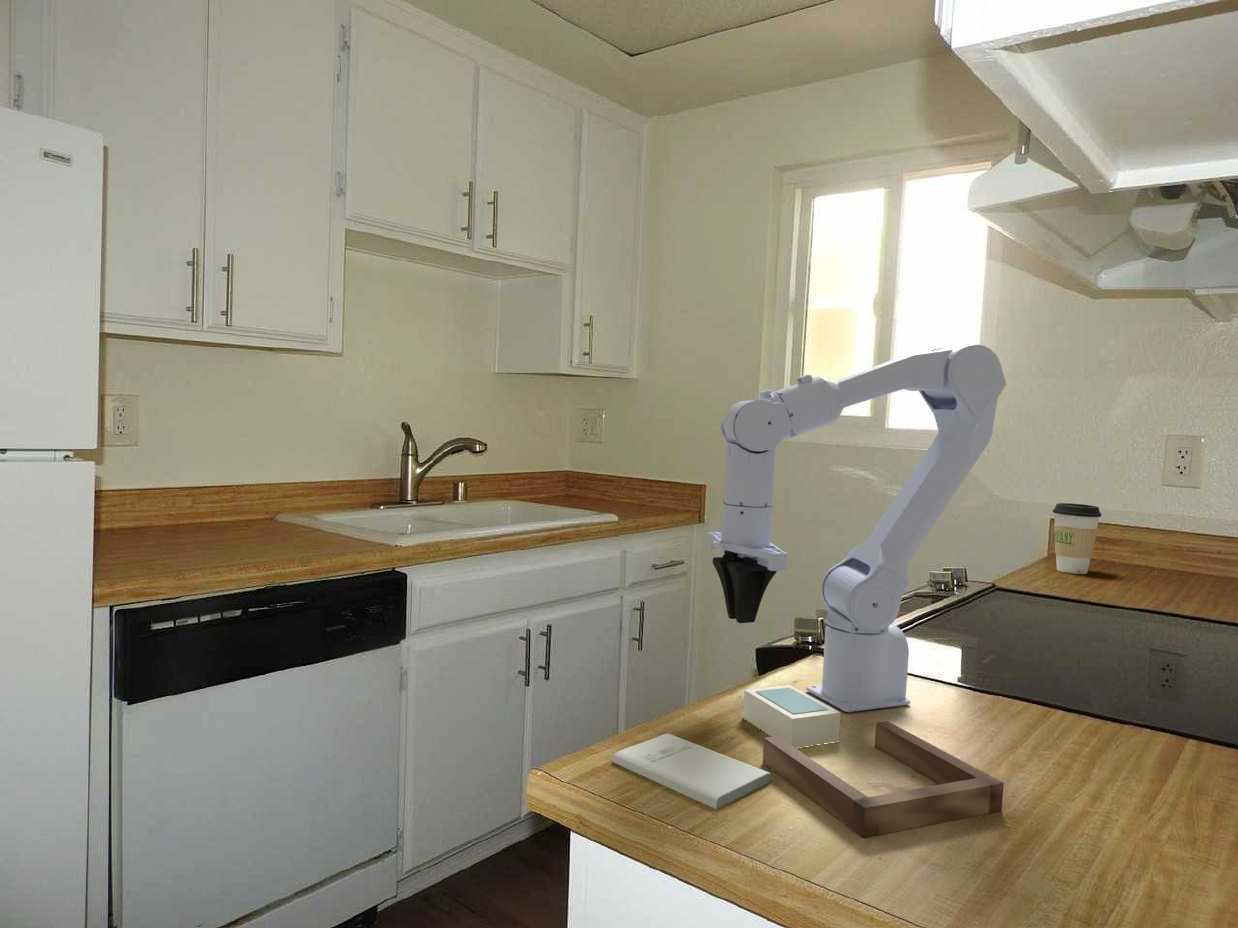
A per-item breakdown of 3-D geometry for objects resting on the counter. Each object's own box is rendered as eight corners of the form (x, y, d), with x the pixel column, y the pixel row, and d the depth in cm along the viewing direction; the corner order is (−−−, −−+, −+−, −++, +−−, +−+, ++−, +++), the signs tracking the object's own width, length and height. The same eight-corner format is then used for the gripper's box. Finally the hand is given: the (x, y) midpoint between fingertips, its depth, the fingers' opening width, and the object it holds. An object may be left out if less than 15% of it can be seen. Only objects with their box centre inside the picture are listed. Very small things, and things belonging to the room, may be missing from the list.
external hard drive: (715, 816, 74) (612, 767, 82) (770, 788, 80) (669, 746, 88) (716, 797, 74) (613, 751, 82) (771, 771, 79) (669, 730, 88)
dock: (886, 744, 89) (887, 721, 89) (1001, 810, 76) (1003, 782, 75) (762, 762, 83) (763, 737, 83) (863, 837, 70) (865, 807, 70)
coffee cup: (1049, 565, 202) (1054, 501, 201) (1097, 570, 198) (1102, 505, 196) (1046, 571, 194) (1051, 505, 193) (1096, 577, 189) (1102, 509, 188)
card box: (787, 714, 98) (789, 683, 97) (838, 745, 90) (840, 711, 89) (742, 720, 95) (744, 688, 95) (790, 752, 87) (792, 717, 87)
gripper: (687, 496, 105) (682, 606, 106) (751, 513, 91) (744, 639, 92) (738, 496, 107) (732, 603, 108) (806, 512, 94) (799, 634, 95)
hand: (741, 619), depth 101 cm, fingers closed
